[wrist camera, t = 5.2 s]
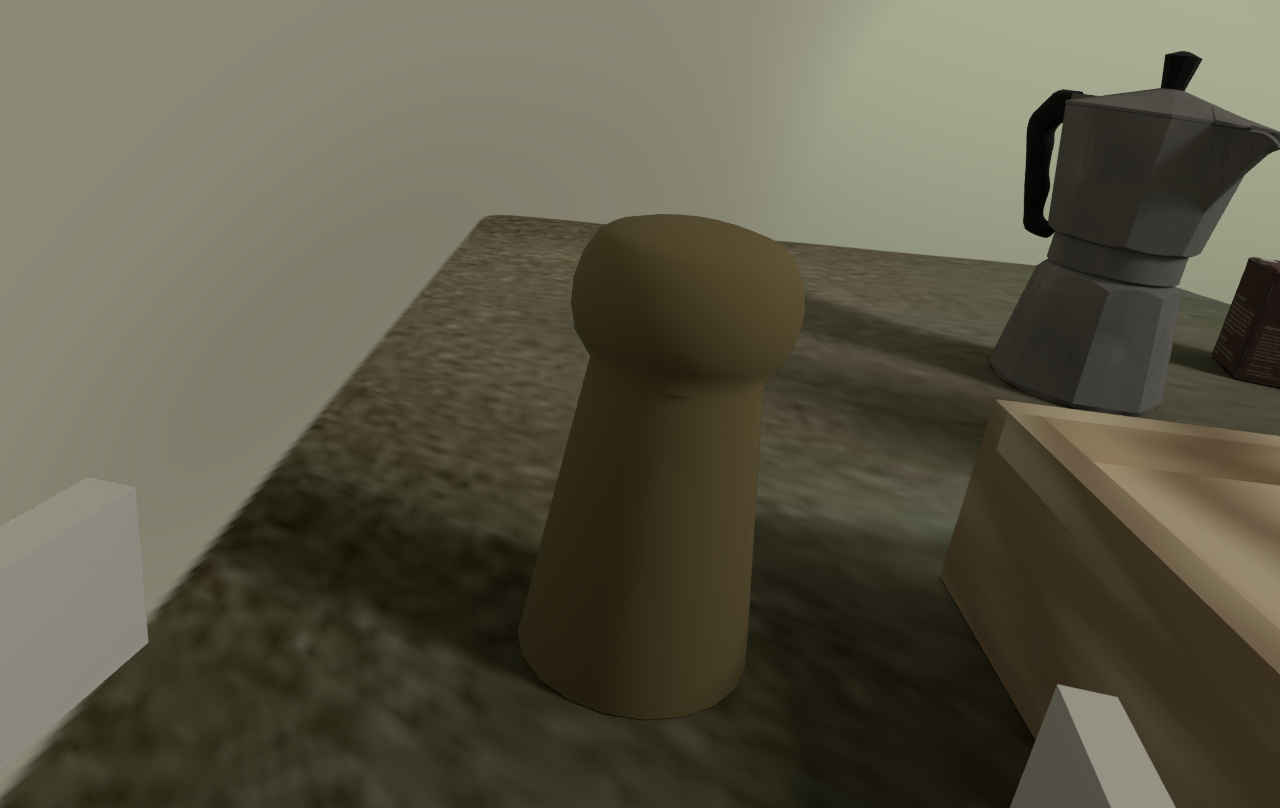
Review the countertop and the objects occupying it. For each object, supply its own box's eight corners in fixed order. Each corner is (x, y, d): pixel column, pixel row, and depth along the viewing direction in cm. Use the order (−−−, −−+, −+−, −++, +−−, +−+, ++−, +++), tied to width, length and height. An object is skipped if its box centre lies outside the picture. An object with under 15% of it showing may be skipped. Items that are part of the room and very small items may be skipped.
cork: (481, 681, 21) (522, 218, 17) (557, 555, 26) (601, 184, 22) (732, 747, 20) (838, 276, 16) (756, 603, 26) (839, 226, 22)
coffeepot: (1231, 433, 47) (1384, 73, 40) (1098, 435, 43) (1241, 44, 37) (1026, 337, 60) (1115, 55, 53) (912, 333, 56) (992, 32, 50)
